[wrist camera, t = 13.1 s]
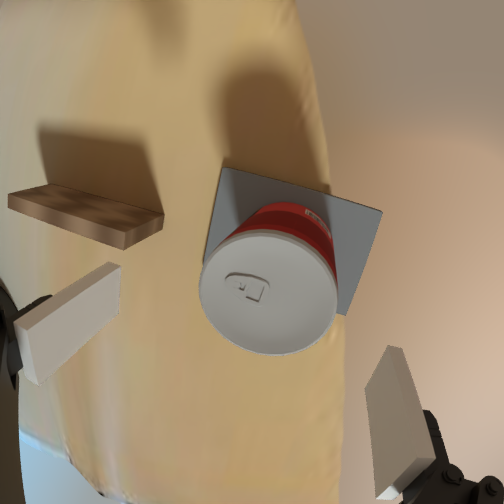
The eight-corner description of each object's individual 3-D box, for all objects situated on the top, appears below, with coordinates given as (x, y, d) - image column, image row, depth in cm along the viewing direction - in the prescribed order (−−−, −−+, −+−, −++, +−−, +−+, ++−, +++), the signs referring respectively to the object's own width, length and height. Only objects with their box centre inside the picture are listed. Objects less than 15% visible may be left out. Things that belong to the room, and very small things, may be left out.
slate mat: (204, 269, 31) (201, 272, 31) (225, 166, 28) (222, 167, 27) (345, 311, 30) (345, 315, 29) (381, 210, 26) (382, 212, 25)
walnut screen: (50, 195, 33) (7, 207, 26) (51, 183, 32) (7, 193, 26) (162, 229, 31) (123, 250, 24) (164, 214, 30) (125, 232, 24)
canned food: (243, 196, 28) (196, 225, 17) (338, 205, 26) (349, 240, 16) (240, 280, 30) (198, 345, 20) (328, 290, 28) (327, 365, 18)
